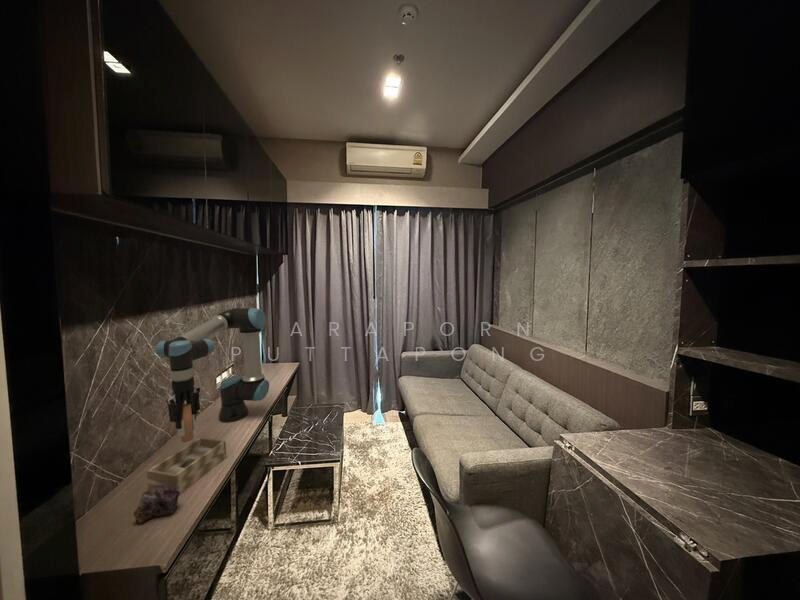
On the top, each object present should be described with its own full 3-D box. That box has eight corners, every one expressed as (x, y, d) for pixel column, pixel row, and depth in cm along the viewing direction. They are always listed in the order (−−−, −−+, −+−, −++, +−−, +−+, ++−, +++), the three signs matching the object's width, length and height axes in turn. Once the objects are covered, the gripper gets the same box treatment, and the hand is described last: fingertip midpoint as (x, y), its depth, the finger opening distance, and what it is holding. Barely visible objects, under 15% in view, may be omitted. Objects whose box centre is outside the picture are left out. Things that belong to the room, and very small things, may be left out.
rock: (170, 522, 103) (182, 500, 112) (172, 499, 102) (184, 479, 111) (129, 526, 99) (145, 502, 109) (131, 502, 98) (147, 481, 108)
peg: (188, 436, 127) (185, 402, 126) (196, 437, 126) (193, 403, 125) (178, 441, 123) (175, 407, 122) (186, 442, 122) (184, 408, 121)
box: (201, 453, 139) (200, 437, 139) (226, 457, 136) (225, 440, 136) (148, 490, 116) (146, 471, 115) (177, 495, 113) (175, 476, 112)
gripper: (194, 371, 131) (197, 421, 133) (154, 385, 115) (159, 442, 117) (207, 372, 130) (211, 423, 132) (169, 387, 113) (174, 444, 115)
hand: (186, 432), depth 124 cm, fingers closed on peg, 4 cm apart
